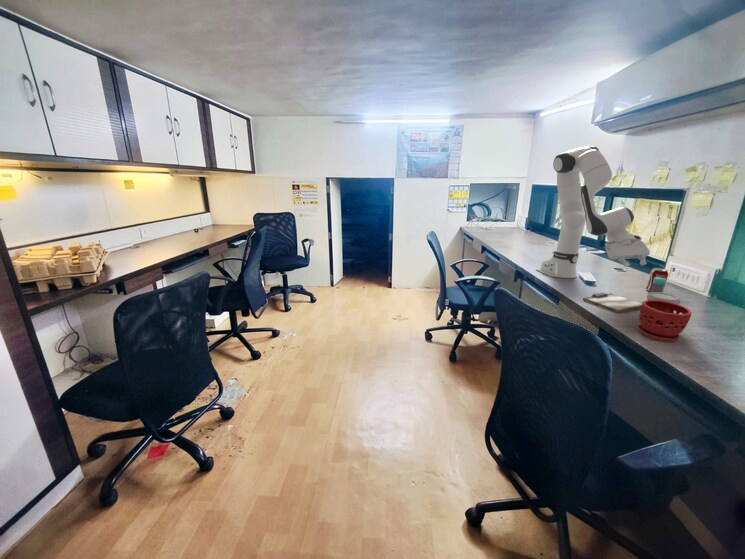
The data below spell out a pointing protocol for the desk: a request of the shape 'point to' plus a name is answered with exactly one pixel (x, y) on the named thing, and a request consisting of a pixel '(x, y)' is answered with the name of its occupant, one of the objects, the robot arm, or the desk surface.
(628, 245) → the robot arm
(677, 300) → the disposable coffee cup
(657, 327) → the plant pot
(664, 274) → the soda can
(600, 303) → the clipboard
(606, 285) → the desk surface
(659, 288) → the ball
